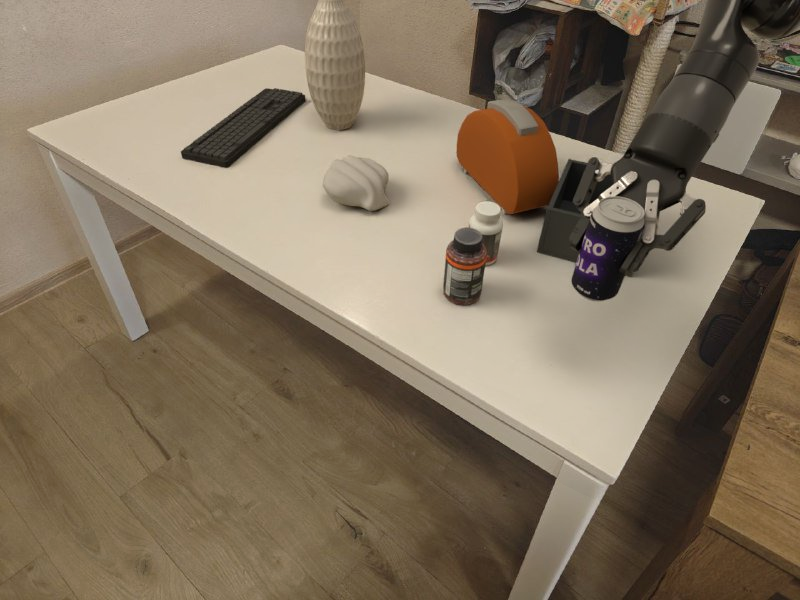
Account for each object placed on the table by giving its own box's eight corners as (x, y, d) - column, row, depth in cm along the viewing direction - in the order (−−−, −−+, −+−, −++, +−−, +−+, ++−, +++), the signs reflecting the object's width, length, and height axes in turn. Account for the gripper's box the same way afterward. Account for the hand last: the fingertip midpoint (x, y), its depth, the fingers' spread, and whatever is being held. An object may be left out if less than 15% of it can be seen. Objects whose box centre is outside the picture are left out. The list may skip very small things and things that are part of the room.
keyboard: (266, 93, 138) (265, 85, 137) (306, 100, 136) (305, 92, 134) (180, 158, 114) (178, 149, 113) (227, 168, 111) (225, 159, 110)
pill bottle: (460, 261, 91) (466, 212, 84) (470, 243, 94) (477, 195, 87) (491, 270, 89) (500, 221, 82) (501, 252, 93) (509, 203, 86)
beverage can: (580, 268, 70) (605, 188, 62) (623, 286, 68) (655, 205, 60) (562, 293, 67) (586, 211, 59) (607, 312, 65) (638, 230, 56)
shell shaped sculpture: (319, 184, 107) (316, 154, 103) (381, 177, 110) (381, 147, 105) (329, 222, 98) (326, 191, 94) (397, 212, 101) (397, 182, 96)
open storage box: (643, 220, 100) (659, 178, 94) (631, 277, 88) (649, 233, 82) (558, 200, 104) (568, 158, 98) (536, 252, 93) (546, 208, 87)
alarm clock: (553, 215, 101) (574, 130, 89) (511, 226, 98) (527, 139, 87) (490, 156, 116) (501, 78, 105) (453, 164, 114) (460, 84, 102)
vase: (301, 130, 124) (285, -8, 105) (327, 108, 132) (317, -23, 113) (351, 141, 120) (344, 0, 101) (375, 118, 129) (373, -16, 110)
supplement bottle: (452, 276, 88) (458, 218, 80) (486, 289, 86) (496, 230, 78) (435, 298, 84) (440, 239, 76) (471, 311, 82) (479, 252, 74)
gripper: (615, 93, 61) (536, 225, 63) (749, 136, 54) (655, 284, 56) (623, 123, 67) (552, 242, 69) (744, 165, 60) (660, 296, 62)
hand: (598, 260), depth 63 cm, fingers closed on beverage can, 5 cm apart
